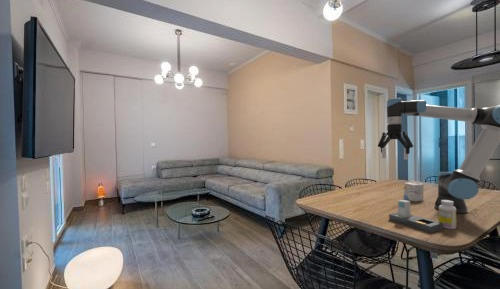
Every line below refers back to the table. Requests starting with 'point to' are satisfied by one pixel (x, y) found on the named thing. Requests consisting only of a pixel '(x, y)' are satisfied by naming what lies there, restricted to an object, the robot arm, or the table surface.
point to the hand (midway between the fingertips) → (394, 158)
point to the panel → (417, 222)
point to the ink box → (413, 191)
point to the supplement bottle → (447, 214)
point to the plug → (404, 208)
